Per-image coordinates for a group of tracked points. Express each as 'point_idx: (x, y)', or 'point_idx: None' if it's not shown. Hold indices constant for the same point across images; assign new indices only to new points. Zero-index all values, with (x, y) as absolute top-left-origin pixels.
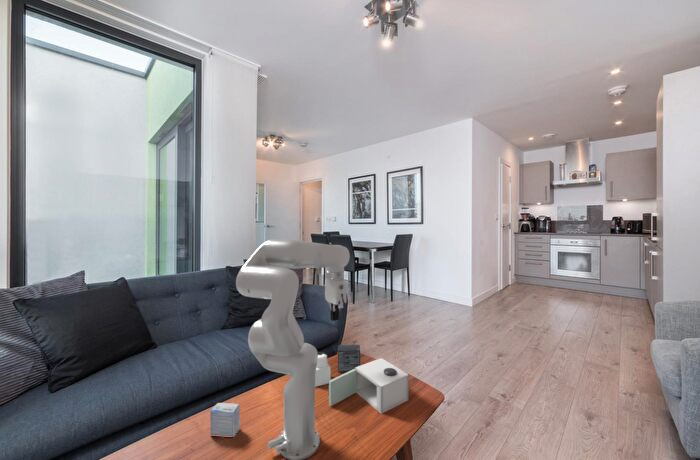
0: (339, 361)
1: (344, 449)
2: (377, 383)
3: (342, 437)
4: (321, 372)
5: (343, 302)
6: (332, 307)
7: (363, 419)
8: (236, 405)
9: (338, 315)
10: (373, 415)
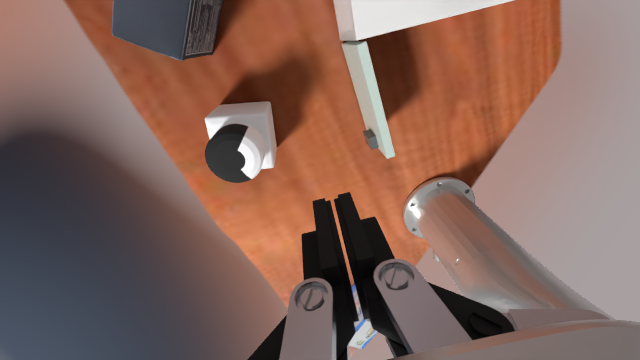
0: (200, 51)
1: (494, 140)
2: (499, 3)
3: (468, 134)
4: (272, 143)
5: (546, 341)
6: (341, 349)
7: (451, 69)
8: (368, 323)
9: (358, 219)
10: (454, 35)
